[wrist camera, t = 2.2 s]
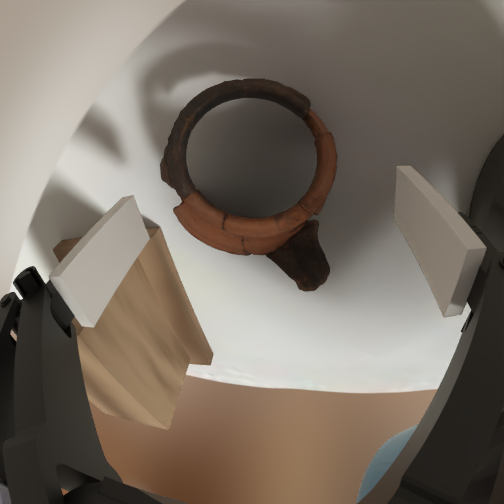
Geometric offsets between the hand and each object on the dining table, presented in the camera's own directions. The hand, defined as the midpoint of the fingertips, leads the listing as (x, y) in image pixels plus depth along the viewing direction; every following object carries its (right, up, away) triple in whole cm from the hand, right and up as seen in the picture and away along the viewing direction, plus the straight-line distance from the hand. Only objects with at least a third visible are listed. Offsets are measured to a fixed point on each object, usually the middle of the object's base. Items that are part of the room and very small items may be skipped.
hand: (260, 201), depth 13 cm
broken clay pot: (0, +3, +5) cm, 5 cm away
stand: (-12, -7, +13) cm, 19 cm away
